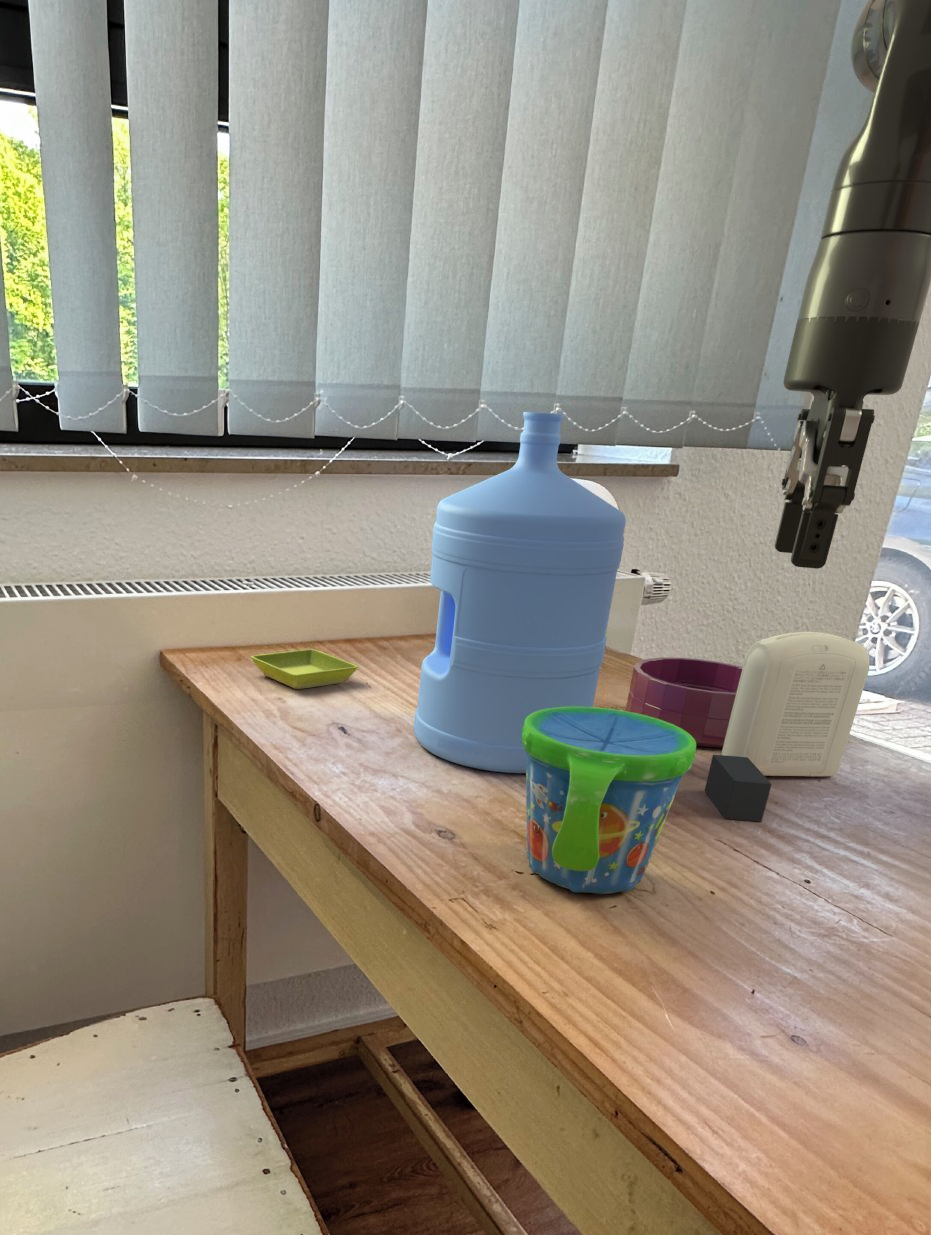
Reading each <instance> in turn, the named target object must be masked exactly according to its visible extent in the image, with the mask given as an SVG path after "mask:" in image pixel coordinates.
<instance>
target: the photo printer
mask: <svg viewBox="0 0 931 1235" xmlns="http://www.w3.org/2000/svg"><path fill="white" fill-rule="evenodd" d="M869 654H870V653H869V651H868V648H867V647H865V646H864V645H862V644H860V643H858V642H856V641H854V640H851V639H849V638H845V637H843V636H840V635H835V634H832V633H826V632H821V631H820V632H817V631H796V632H788V633H781V634H778V635H773V636H770V637H766V638H763V639H760V640H757V641H755V642H754V643H752V645H751V646H750V648H749V649H748V651H747V652H746V655H745V658H744V661H743V666H742V667H743V669H742V673H741V677H740V681H739V685H738V689H737V693H736V697H735V701H734V705H733V709H732V713H731V717H730V721H729V725H728V729H727V733H726V737H725V741H724V746H723V748H722V749H721V755H725V756H737V757H748V758H749V759H750V761H751V762H752V763H753V764H754V765H755V766H756V767H757V768H758V769H759V771H760V772H761V773H762V774H763V775H764V776H765V777H767V776H769V777H770V776H771V777H833V776H836V775H837V774H838V772H839V770H840V767H841V764H842V761H843V757H844V754H845V751H846V748H847V743H848V741H849V738H850V734H851V730H852V728H853V724H854V720H855V717H856V714H857V711H858V707H859V705H860V701H861V698H862V694H863V690H864V688H865V684H866V682H867V678H868V675H869V671H870V666H871V665H870V663H871V662H870V661H871V660H870V655H869Z"/></svg>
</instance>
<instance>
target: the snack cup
mask: <svg viewBox="0 0 931 1235" xmlns="http://www.w3.org/2000/svg"><path fill="white" fill-rule="evenodd" d="M522 743H523V746H524V748H525V751H526V755H527V761H526V762H527V764H526V766H527V769H526V773H525V796H526V797H525V798H526V799H525V805H526V806H525V812H526V822H525V823H526V844H527V846H526V855H527V859H528V866H529V868H530V869H531V871H532V873H533V874H538V875H539V876H540V877H541V878H543V879H545V880H546V881H548V882H549V883H552V884H554V885H556V886H559V887H561V888H565V889H568V890H570V892H573V893H578V894H579V893H587V894H589V893H591V894H595V895H605V894H614V893H618V892H626V893H627V892H631V890H634V888H635V887H636V885H637V884H639V883H640V882H641V881H642V878H643V876H644V875H645V873H646V870H647V868H648V866H649V864H650V861H651V859H652V857H653V853H654V851H655V849H656V845H657V843H658V841H659V839H660V836H661V833H662V831H663V828H664V825H665V823H666V821H667V819H668V818H667V817H668V815H669V812H670V810H671V807H672V805H673V803H674V799H675V797H676V793H677V791H678V788H679V785H680V783H681V780H682V778H683V777H684V776H685V775H686V773H687V772H689V771H690V770H691V768H692V766H693V764H694V761H695V756H696V751H697V746H696V742H695V739H694V738H693V737H692V736H691V735H690V734H689V733H687V732H686V731H685V730H683V729H681V728H679V727H677V726H675V725H673V724H670V723H668V722H665V721H663V720H659V719H656V718H653V717H649V716H646V715H642V714H638V713H632V712H628V711H626V710H620V709H614V708H607V707H597V706H596V707H594V706H593V707H576V706H574V707H557V708H548V709H543V710H539V711H536V712H534V713H532V714H530V715H529V716H527V717H526V719H525V722H524V726H523V731H522Z"/></svg>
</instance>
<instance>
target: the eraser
mask: <svg viewBox="0 0 931 1235" xmlns="http://www.w3.org/2000/svg"><path fill="white" fill-rule="evenodd" d="M706 778H707V779H706V783H705V787H704V791H705V793H706V795H707V796H708V797H709V798H710V800H711V802H712V803H713V804H714V805H715V807H716V808H717V810H718V811H719V813H720V814H721V815H722V817H723V818H724V819H725V820H734V821H735V820H736V821H747V822H748V821H749V822H759V823H762V821H763V818H764V814H765V811H766V807H767V803H768V799H769V796H770V791H771V788H772V783H771V781H770V780H769V779H768V778H767V776H764V775H763V774H762V773H761V772H760V771H759V769H758V768H757V767H756V766H755V765H754V764H753V763H752V762H751V761H750V759H749V758H748V757H737V756H725V755H722V754H713V755H712V756H711V761H710V766H709V770H708V775H707V777H706Z"/></svg>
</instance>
